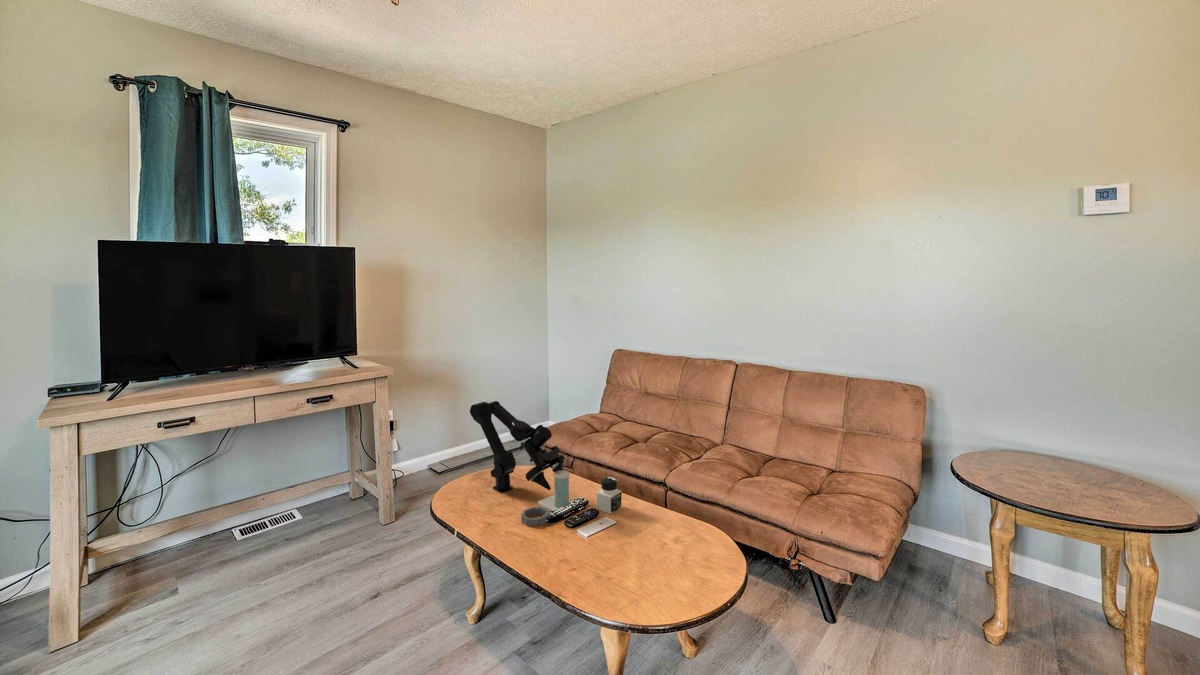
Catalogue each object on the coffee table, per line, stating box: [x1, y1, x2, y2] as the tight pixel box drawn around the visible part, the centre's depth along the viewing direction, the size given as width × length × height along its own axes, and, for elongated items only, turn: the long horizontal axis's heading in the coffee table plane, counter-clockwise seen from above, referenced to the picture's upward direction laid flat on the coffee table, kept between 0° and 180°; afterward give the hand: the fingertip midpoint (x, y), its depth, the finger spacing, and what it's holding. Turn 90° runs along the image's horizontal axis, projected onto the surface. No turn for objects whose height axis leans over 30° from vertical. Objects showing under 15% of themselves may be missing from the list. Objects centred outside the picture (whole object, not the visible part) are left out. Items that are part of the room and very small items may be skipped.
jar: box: [553, 469, 570, 508], centre depth 190 cm, size 6×6×13 cm
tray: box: [537, 494, 584, 516], centre depth 191 cm, size 16×10×1 cm, turn 44°
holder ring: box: [521, 506, 549, 527], centre depth 181 cm, size 10×10×2 cm
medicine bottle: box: [596, 476, 623, 515], centre depth 189 cm, size 7×7×12 cm
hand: (557, 485), depth 190 cm, fingers open, 9 cm apart
